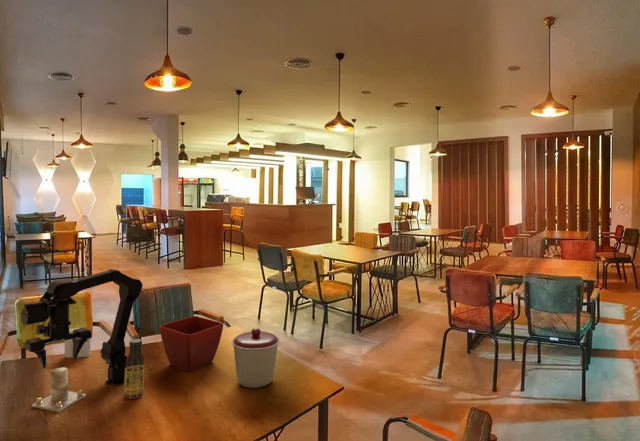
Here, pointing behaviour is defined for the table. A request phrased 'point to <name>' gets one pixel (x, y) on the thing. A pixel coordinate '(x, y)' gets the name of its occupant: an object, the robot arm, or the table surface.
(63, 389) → the maple peg
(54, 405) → the base plate
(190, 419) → the table surface
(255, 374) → the canister
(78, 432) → the table surface
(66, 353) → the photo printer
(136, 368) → the sauce bottle
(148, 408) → the table surface
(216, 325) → the plant pot
